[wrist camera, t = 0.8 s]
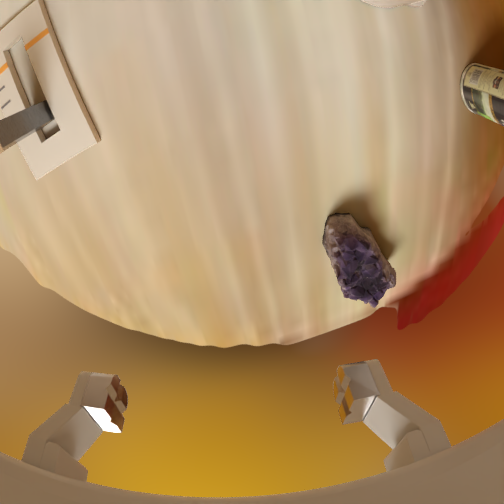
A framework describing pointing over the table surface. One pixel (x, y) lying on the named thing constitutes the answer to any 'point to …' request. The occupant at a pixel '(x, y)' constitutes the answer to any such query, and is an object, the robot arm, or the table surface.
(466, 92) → the coffee can
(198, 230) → the table surface
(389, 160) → the table surface
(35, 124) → the fader tab
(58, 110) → the console
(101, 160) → the table surface
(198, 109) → the table surface
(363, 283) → the geode
